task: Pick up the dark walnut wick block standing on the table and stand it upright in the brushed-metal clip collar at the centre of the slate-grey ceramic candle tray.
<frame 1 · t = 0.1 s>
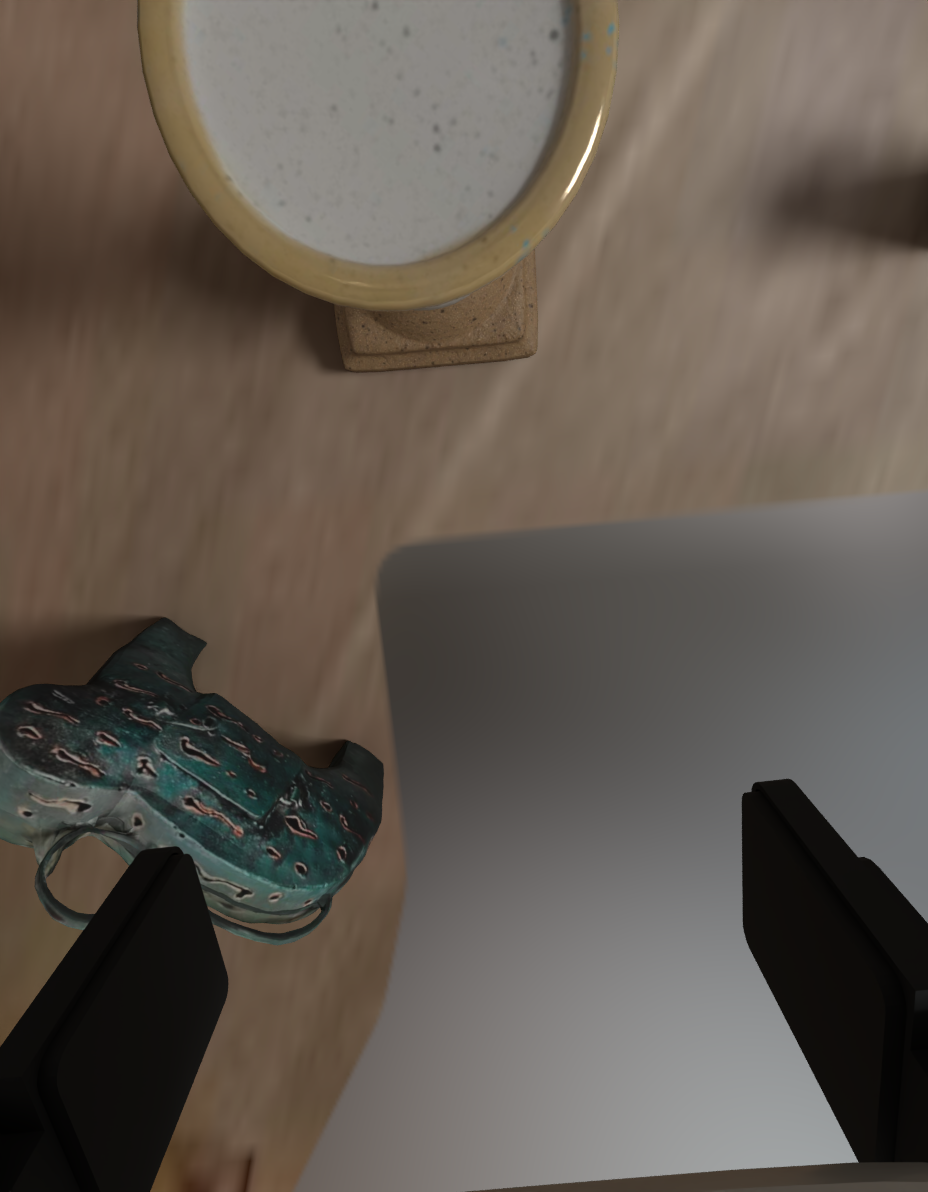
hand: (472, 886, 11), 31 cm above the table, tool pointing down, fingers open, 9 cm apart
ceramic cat: (264, 698, 45), on the table
candle holder: (432, 262, 37), on the table
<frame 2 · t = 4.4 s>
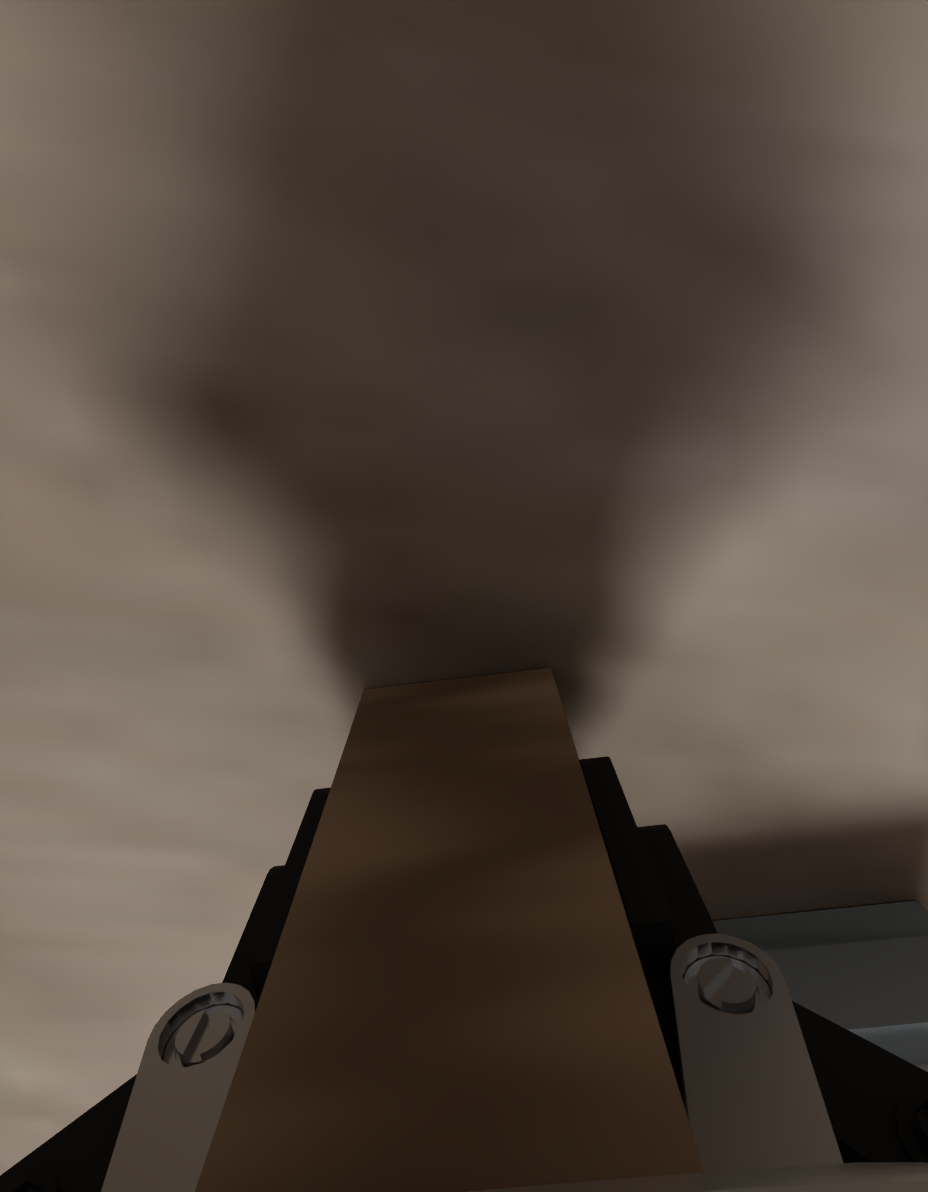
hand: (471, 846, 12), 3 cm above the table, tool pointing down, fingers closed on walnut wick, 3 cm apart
candle tray: (709, 1074, 17), on the table
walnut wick: (468, 760, 15), on the table, touching gripper
when the fingers open (5 cm above the table, at t = 10.7 s): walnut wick drops 2 cm, resting on candle tray.
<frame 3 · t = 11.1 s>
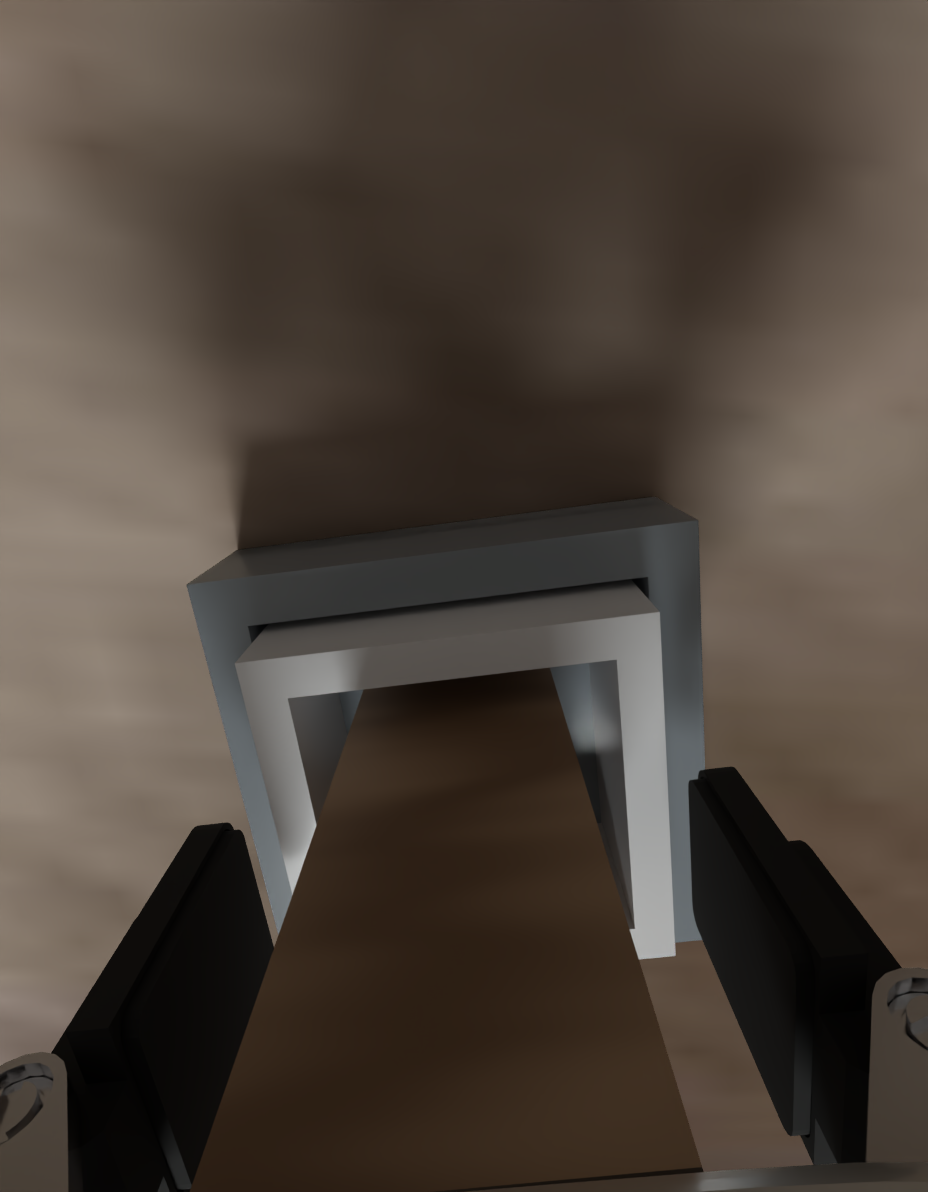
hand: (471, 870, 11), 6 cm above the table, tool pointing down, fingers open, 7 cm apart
candle tray: (470, 713, 17), on the table
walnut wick: (468, 727, 16), point 1 cm above the table, touching candle tray
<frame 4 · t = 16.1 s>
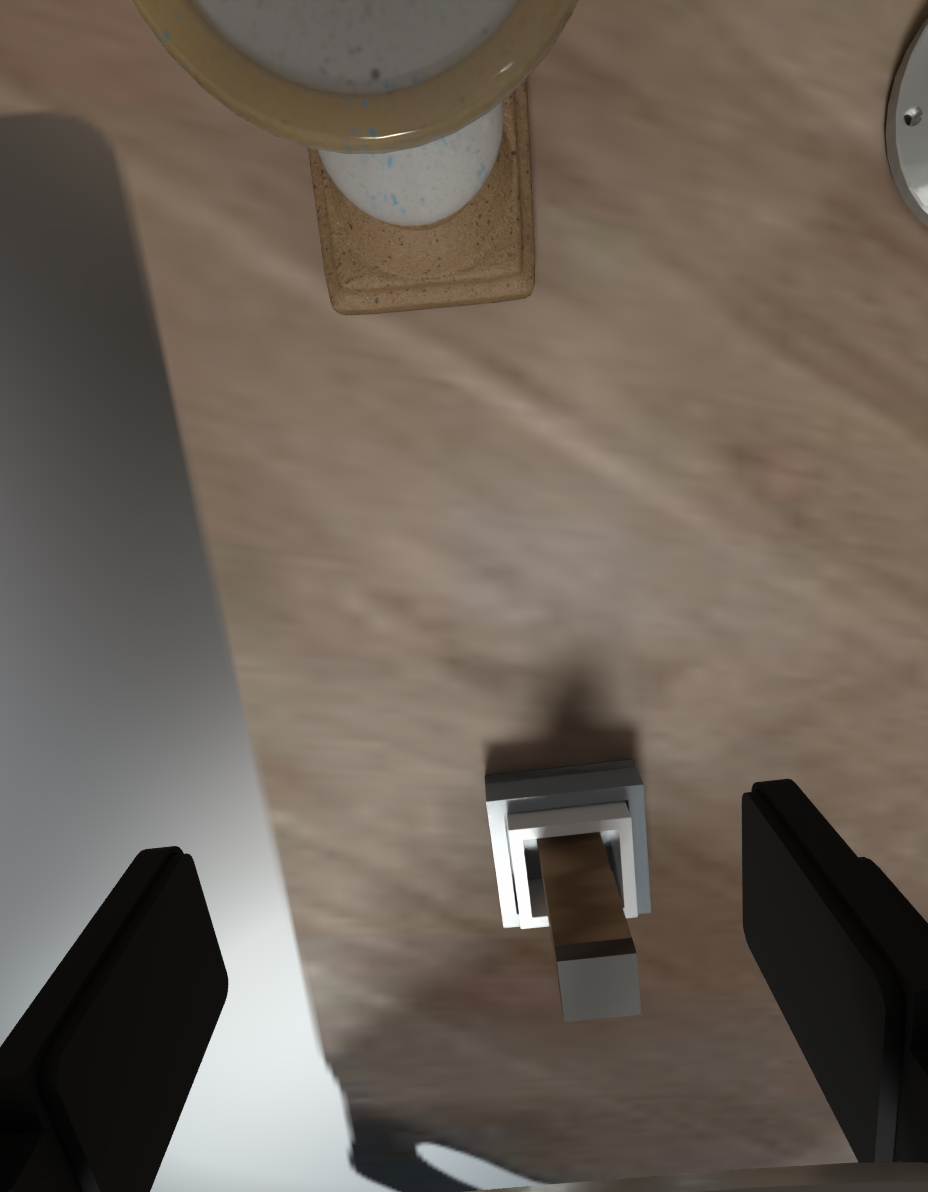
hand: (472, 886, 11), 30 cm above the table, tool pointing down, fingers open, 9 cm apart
candle tray: (564, 830, 46), on the table
candle holder: (424, 197, 35), on the table
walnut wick: (565, 837, 45), point 1 cm above the table, touching candle tray
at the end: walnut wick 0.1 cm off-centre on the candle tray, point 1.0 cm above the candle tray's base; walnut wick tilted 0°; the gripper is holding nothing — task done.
